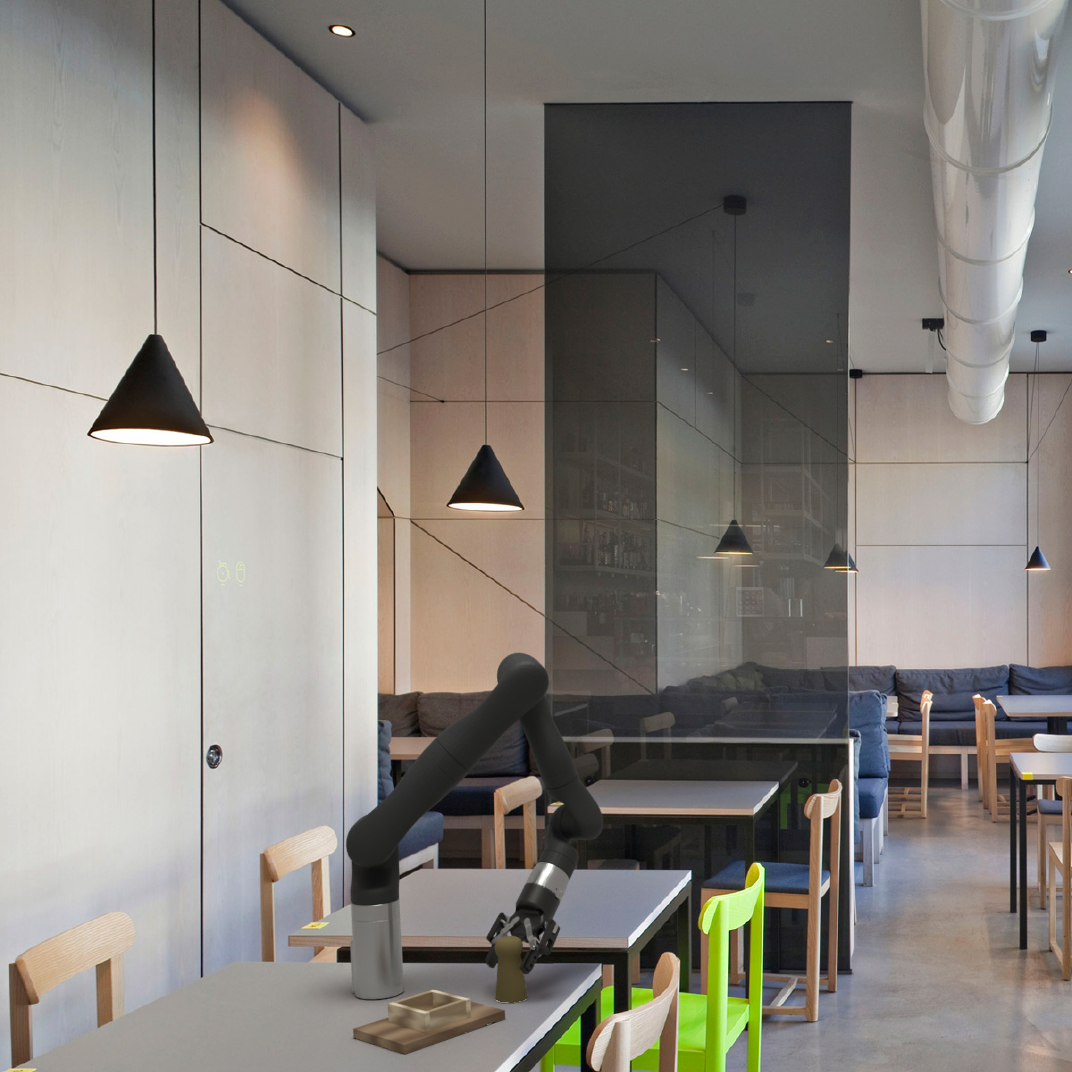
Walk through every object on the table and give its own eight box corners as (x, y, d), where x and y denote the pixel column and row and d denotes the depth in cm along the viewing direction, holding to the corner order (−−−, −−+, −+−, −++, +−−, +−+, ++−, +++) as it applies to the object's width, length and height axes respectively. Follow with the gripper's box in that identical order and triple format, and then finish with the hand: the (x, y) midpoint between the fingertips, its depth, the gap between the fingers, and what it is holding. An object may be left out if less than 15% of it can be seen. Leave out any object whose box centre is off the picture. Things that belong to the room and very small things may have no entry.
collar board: (353, 1037, 207) (352, 1010, 207) (452, 1005, 222) (451, 979, 222) (404, 1054, 197) (403, 1025, 197) (505, 1019, 212) (503, 992, 212)
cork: (524, 1003, 221) (520, 941, 221) (491, 1003, 222) (488, 941, 223) (531, 993, 226) (527, 932, 227) (499, 993, 228) (496, 933, 229)
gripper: (505, 878, 236) (467, 952, 227) (562, 884, 227) (525, 962, 217) (524, 900, 240) (488, 975, 230) (581, 907, 231) (546, 985, 221)
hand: (506, 968), depth 224 cm, fingers open, 8 cm apart
